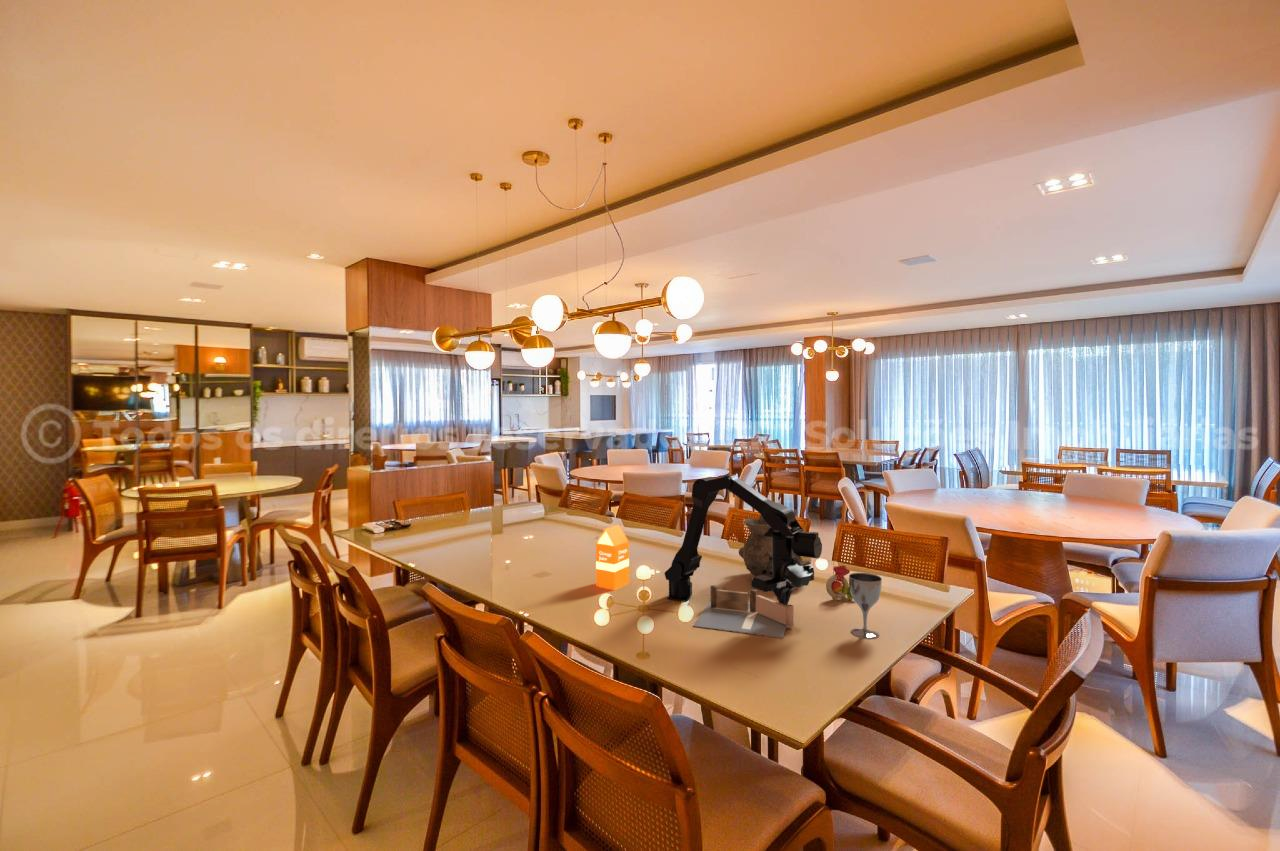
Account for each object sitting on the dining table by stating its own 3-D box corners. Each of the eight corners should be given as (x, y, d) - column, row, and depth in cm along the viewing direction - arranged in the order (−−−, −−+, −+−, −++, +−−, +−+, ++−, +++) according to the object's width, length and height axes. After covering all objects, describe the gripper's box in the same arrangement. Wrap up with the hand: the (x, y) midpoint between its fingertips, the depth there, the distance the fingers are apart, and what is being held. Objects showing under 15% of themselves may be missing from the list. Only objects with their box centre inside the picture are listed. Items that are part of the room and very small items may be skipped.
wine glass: (880, 629, 149) (880, 574, 149) (882, 641, 142) (882, 582, 141) (848, 626, 152) (848, 571, 152) (849, 637, 145) (849, 580, 144)
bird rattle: (841, 610, 170) (864, 595, 172) (828, 578, 168) (851, 564, 171) (828, 603, 176) (851, 589, 178) (816, 572, 174) (839, 559, 177)
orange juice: (629, 583, 191) (629, 525, 191) (614, 590, 184) (614, 529, 183) (610, 579, 196) (610, 522, 195) (595, 586, 188) (595, 527, 188)
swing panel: (754, 612, 161) (754, 594, 161) (759, 611, 162) (759, 592, 162) (790, 627, 150) (790, 607, 150) (795, 625, 151) (795, 606, 151)
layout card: (692, 626, 153) (692, 625, 153) (710, 600, 173) (710, 599, 173) (783, 638, 144) (783, 636, 144) (790, 609, 165) (790, 608, 165)
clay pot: (738, 568, 208) (737, 510, 207) (803, 570, 205) (803, 512, 204) (740, 589, 183) (740, 524, 183) (815, 592, 180) (815, 526, 179)
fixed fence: (710, 608, 166) (710, 587, 166) (711, 606, 168) (711, 585, 168) (756, 614, 162) (756, 591, 161) (757, 611, 163) (757, 589, 163)
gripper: (778, 565, 143) (780, 625, 144) (828, 554, 153) (830, 610, 153) (749, 556, 153) (750, 612, 153) (798, 546, 162) (799, 599, 163)
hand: (783, 609), depth 155 cm, fingers closed
